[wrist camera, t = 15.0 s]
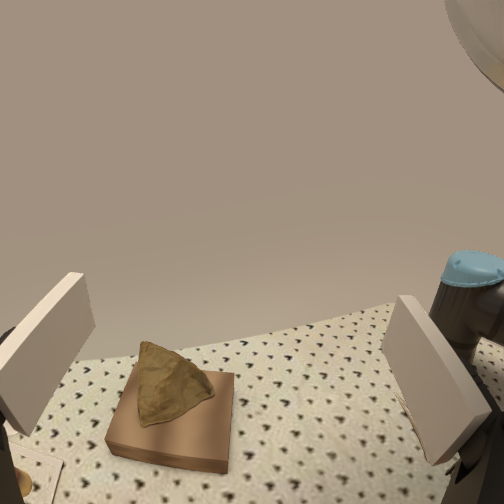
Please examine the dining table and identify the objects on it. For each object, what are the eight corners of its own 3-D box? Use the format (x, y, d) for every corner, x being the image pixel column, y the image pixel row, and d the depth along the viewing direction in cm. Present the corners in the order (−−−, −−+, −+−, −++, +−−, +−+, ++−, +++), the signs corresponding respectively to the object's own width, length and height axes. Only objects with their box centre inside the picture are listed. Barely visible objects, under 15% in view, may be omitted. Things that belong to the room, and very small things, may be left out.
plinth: (233, 390, 44) (234, 372, 43) (227, 473, 30) (227, 460, 29) (140, 379, 44) (135, 361, 42) (112, 454, 30) (104, 439, 29)
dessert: (66, 463, 27) (52, 446, 25) (48, 535, 16) (29, 524, 14) (1, 440, 26) (-14, 421, 24) (-22, 501, 15) (-42, 484, 13)
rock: (216, 359, 42) (146, 350, 40) (225, 348, 35) (139, 336, 33) (211, 433, 36) (138, 424, 35) (219, 439, 29) (129, 428, 27)
